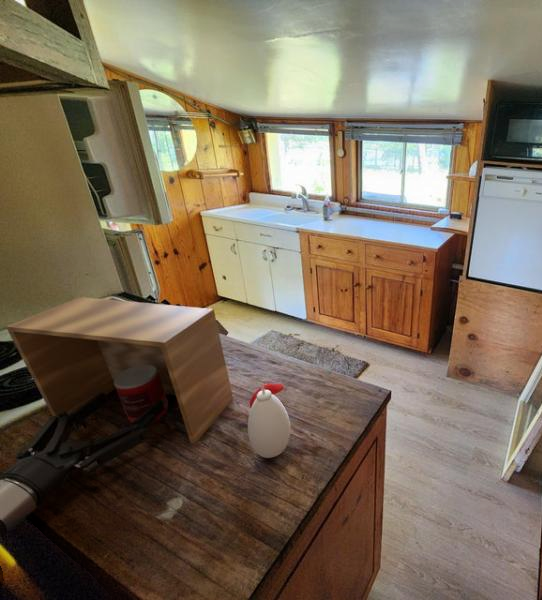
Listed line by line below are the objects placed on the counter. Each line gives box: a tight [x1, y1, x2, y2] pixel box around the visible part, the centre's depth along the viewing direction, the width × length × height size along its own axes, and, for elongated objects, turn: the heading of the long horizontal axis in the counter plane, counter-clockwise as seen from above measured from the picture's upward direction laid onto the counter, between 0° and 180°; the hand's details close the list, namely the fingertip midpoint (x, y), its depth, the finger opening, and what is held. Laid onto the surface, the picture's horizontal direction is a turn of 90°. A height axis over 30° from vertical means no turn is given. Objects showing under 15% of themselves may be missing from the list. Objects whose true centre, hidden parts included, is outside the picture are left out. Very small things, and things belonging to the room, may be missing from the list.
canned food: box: [114, 365, 169, 424], centre depth 73 cm, size 8×8×11 cm
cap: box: [249, 382, 285, 409], centre depth 77 cm, size 8×6×6 cm
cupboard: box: [5, 296, 234, 445], centre depth 71 cm, size 32×14×25 cm, turn 84°
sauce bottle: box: [247, 382, 291, 459], centre depth 64 cm, size 8×8×18 cm
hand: (133, 400), depth 71 cm, fingers open, 13 cm apart
